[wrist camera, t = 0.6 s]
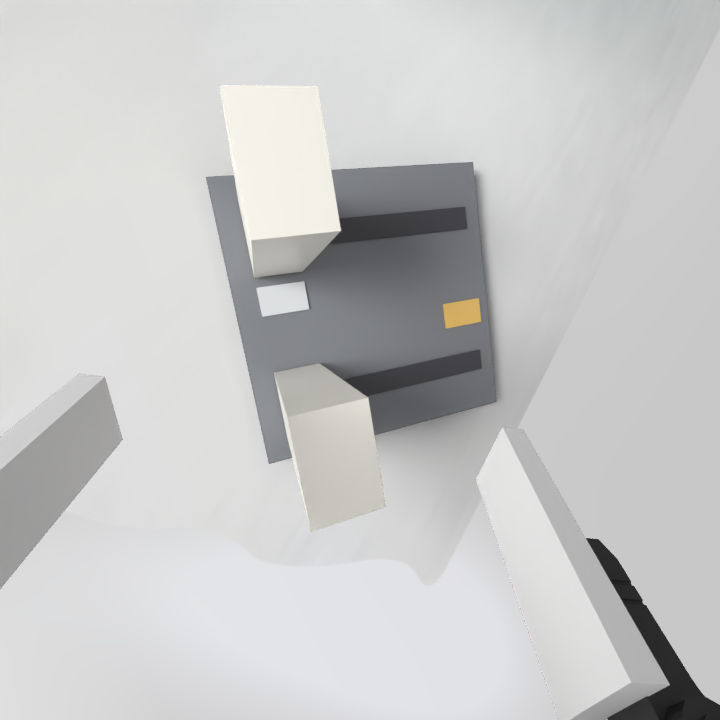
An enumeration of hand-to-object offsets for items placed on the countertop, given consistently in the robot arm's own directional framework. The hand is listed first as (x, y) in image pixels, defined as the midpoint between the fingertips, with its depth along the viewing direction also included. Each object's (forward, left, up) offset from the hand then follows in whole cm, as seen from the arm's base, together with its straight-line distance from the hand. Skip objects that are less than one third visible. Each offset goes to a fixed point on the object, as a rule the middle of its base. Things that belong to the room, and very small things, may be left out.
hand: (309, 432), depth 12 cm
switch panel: (-3, +10, -21) cm, 23 cm away
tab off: (-10, +2, -18) cm, 21 cm away
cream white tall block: (+4, +2, -18) cm, 19 cm away
